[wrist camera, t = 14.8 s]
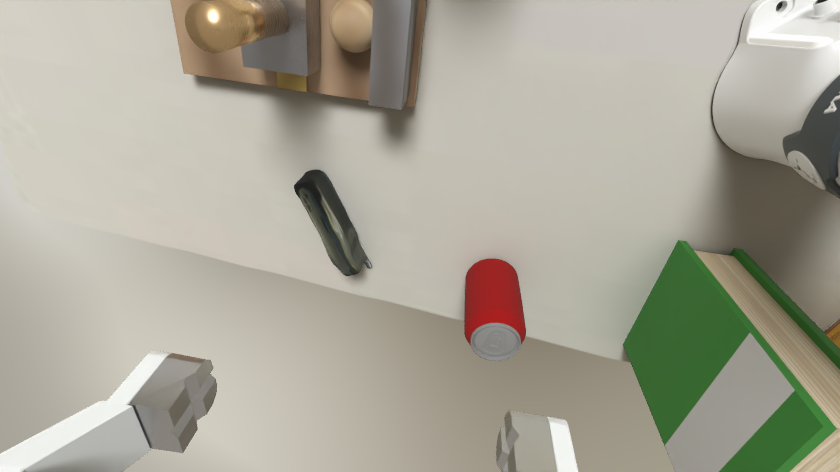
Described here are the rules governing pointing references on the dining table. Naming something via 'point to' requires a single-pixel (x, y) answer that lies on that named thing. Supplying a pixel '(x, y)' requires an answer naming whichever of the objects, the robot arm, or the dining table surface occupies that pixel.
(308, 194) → the mobile phone
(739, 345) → the hardback book
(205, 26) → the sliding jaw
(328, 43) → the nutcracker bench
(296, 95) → the dining table surface
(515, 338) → the beverage can
